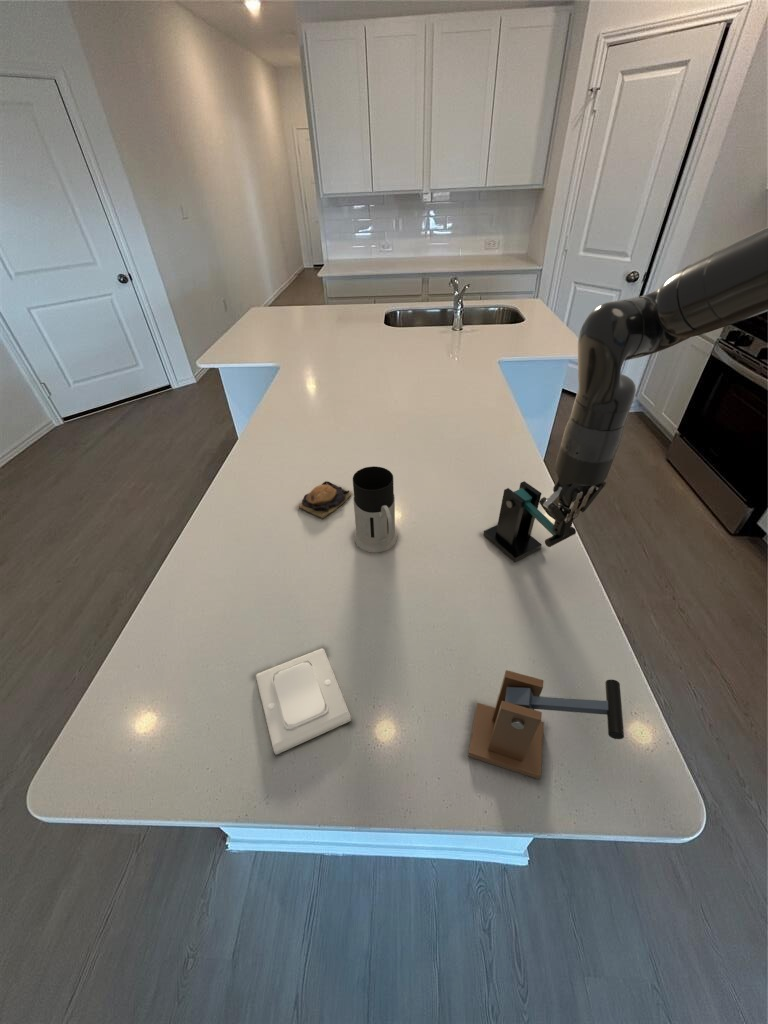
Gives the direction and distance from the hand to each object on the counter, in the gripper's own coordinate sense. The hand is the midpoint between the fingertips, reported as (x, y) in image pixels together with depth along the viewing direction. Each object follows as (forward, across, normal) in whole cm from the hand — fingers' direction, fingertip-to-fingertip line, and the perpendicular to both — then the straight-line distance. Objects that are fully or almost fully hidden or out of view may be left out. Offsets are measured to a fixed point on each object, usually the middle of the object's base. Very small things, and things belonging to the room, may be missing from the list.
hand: (560, 532), depth 75 cm
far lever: (+1, 0, +5) cm, 5 cm away
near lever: (-2, -24, -22) cm, 33 cm away
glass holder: (+10, -23, +23) cm, 34 cm away
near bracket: (+10, -27, -18) cm, 35 cm away
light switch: (+10, -49, +1) cm, 50 cm away
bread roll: (+10, -26, +42) cm, 50 cm away
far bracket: (+10, 0, +10) cm, 14 cm away
